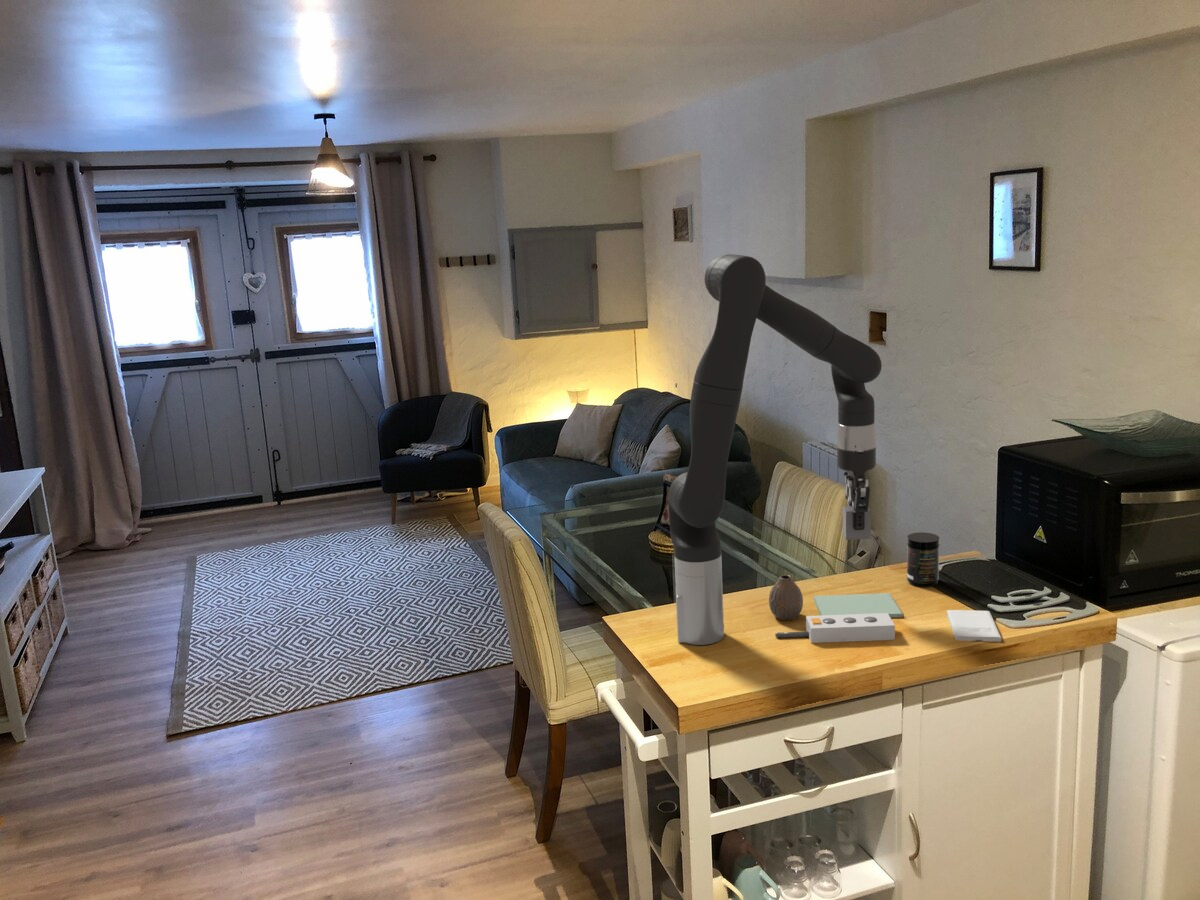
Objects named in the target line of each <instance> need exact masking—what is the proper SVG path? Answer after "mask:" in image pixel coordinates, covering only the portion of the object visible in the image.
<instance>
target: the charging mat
mask: <svg viewBox="0 0 1200 900" xmlns="http://www.w3.org/2000/svg"><path fill="white" fill-rule="evenodd" d="M813 601H814V603H815V606H816V609H817V610H818V613H819V616H820V615H847V614H873V613H888V614H889V616H890V618H891V619H892V618H903V612H902V611H901V608H900V607H899V605H898V604H897V603H896V601H895V600H894V598H893V597H892V594H891V593H890V592H884V593H881V592H879V593H859V594H857V593H856V594H852V593H851V594H833V595H832V594H830V595H829V594H828V595H814V596H813Z"/></svg>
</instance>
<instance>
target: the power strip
mask: <svg viewBox="0 0 1200 900" xmlns="http://www.w3.org/2000/svg"><path fill="white" fill-rule="evenodd" d="M774 636H775V637H776V638H777V639H781V638H782V639H783V638H802V637H803V638H806V637H808V638H809V641H810V643H811V644H813V643H817V644H818V643H843V642H846V643H847V642H868V641H869V642H870V641H875V642H876V641H894V640H896V625H895V623H894V621H893V620H892V618H890V616H889V614H888V613H873V614H847V615H820V614H819V615H806V616H805V631H786V632H785V631H783V632H775V635H774Z"/></svg>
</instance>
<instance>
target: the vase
mask: <svg viewBox="0 0 1200 900" xmlns="http://www.w3.org/2000/svg"><path fill="white" fill-rule="evenodd" d="M768 605H769V609H770V611H771V613H772V615H773V616H774V617H775V618H776V619H778V620H781V621H792V620H795V619H796V618H797V617H799V615H800V614H801V612H802V610H803V607H804V606H803V605H804V597H803V593H802V590H801V589H800V587H799V586H798V584H796V582H795V581H794V580H793V576H791V575H788V574H782V575H780V576H779V577H778V579H777V581H776V582H775V583H774V584H773V586H772V587H771V589H770V591H769V596H768Z"/></svg>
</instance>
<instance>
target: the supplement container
mask: <svg viewBox="0 0 1200 900" xmlns="http://www.w3.org/2000/svg"><path fill="white" fill-rule="evenodd" d="M940 539H941V538H940V536H939V535H937V534H935V533H931V532H913V533H909V534H908V535H907V537H906V540H907V541H906V542H907V543H906V545H907V547H906V549H907V550H906V551H907V552H906V553H907V554H906V579H907V580H906V581H907V582H908V583H909V584H910V585H913V586H915V587H920V588H928V587H933V586H935V584H936V585H937V584H938V583H939V581H938V580H940V577H939V575H940V571H939V569H940V568H939V567H940V546H941V545H940V544H941V543H940V541H941V540H940Z"/></svg>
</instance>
